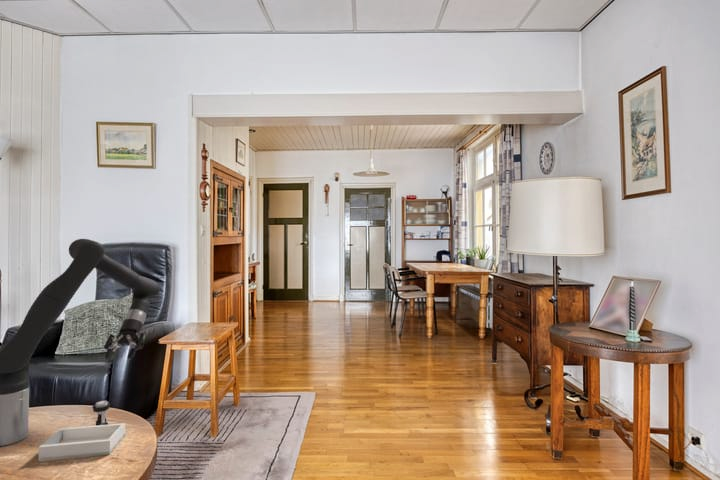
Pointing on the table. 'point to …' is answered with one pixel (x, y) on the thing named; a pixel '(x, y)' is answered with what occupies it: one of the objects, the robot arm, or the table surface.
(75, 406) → the table surface
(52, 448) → the tray
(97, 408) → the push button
